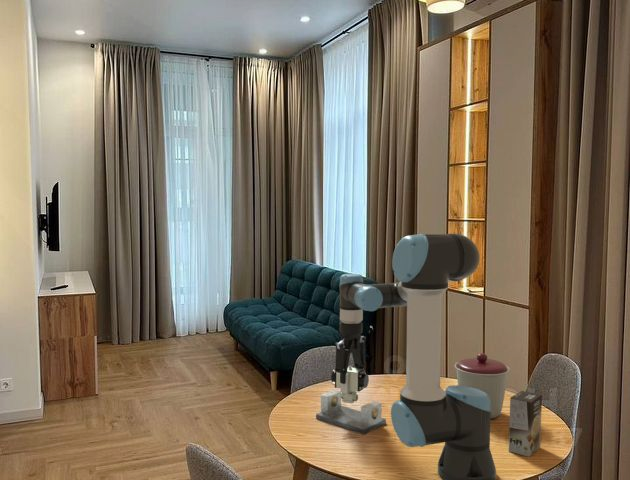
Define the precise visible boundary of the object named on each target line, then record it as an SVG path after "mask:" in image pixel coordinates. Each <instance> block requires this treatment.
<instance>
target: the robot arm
mask: <svg viewBox="0 0 630 480" xmlns="http://www.w3.org/2000/svg"><path fill="white" fill-rule="evenodd" d="M480 258H481V257H480V251H479V249H478V246H477V245H476V244H475V243H474V241H473V240H472V239H470V238H469V237H467V236H466V235H463V234H460V233H436V234H435V233H429V234H428V233H425V234H424V233H420V234H419V233H418V234H412V235H411V234H410V235H406V236H403V237H402V238H400V240H399V241H398V243H397V244H396V245H395V248H394V251H393V253H392V264H391V267H392V271H393V275H394V277H395V279H396V280H397V282H388V283H371V284H366V283H364V278H363V277H364V276H363V275H361V274H360V273H344V274H343V273H342V275H340V278H339V286H338V287H339V333H340V334H341V338H340V341H339V342H338V341H337V342H335V344H334V346H335V368H334V370H335V372H337V373H340V383H341V389H340V391H341V394H342V393H346V394H348V393H349V374H347V369H348V367H349V363H350V358H351V356H352V362H353V365H354V367H353V368H358V369H365V366H366V360H367V359H366V342H367V341H366V340H367V337H366V336H364V335H361V334H362V333H363V322H362V321H363V320H364V319H363V318H364V316H363V315H364V314H363V313H364V311H365V312H367V311H368V312H374V311H377V310H379V309H384V308H395V307H398V308H399V307H406V365H405V366H406V369H405V370H406V371H405V373H406V374H405V376H406V377H405V379H406V381H405V386H403V387H402V388H401V389H400V391H399V393H400V394H399V399H398V400H396V401H394V402H393V403H392V405H391V408H390V417H391V423H392V426H393V429H394V430H393V431H394V432H395V433H396V435H397V437H398V439H399V441H400V442H401V443H402V444H403V445H404V446H406V447H408V448H415V447H416V448H417V447H422V448H423V447H425V446H431V445H436V444H443V443H444V445H443V447H442V450H441V454H440V456H439V458H438V462H437V474H438V476H439V477H440V478H441V479H443V480H496V478H497V468H496V464H495V461H494V459H493V454H492V452H491V449H490V447H491V446H490V445H491V443H490V442H491V419H490V415H491V405H490V398H489V396H488V395H487V394H486V393H485V392H483V391H481V390H478V389H475V388H471V387H466V386H458V384H457V385H448V386H447V387H446V388H445V390H444V389H443V388H442V387H441V357H442V355H441V353H442V352H441V350H442V349H441V347H442V342H441V341H442V295H443V294H444V293H445V292H446V291H447V290H448V288H449V286H448V285H449V283H451V282H455V283H457V282H460V281H462V280H464V279H466V278H468V277H470V276H472V275H473V274H474V273H475V272H476V270H477V269H478V267H479V265H480V260H481V259H480Z"/></svg>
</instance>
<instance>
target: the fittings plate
mask: <svg viewBox="0 0 630 480" xmlns="http://www.w3.org/2000/svg"><path fill="white" fill-rule="evenodd" d="M341 394H342V392H341V390H337V389H332V390H329V391H328V392H326V393H321V395H320V412H317V413H316V414H315V418H316V420H319V421H323V422H326V423H329V424H332V425H335V426H337V427H341V428H344V429H346V430H350V431H352V432H355V433H358V434H362V435H365V434H367V433H369V432H371V431H373V430H375V429H377V428H380V427H383V426H384V425H385V424H386V423H387V419H386V418H384V417H382V406H383V405H382V402H379V401H375V400H373V401H371V402H368V403H366V404H363V405H361V406H360V410H357V409H355V408H351V407H348V406H344V405H342V398H341Z"/></svg>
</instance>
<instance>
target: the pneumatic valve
mask: <svg viewBox="0 0 630 480" xmlns="http://www.w3.org/2000/svg"><path fill="white" fill-rule="evenodd" d="M347 374H349V393H348V394H346V393H342V392H341V402H342V403H346V404H350V405H351V404H354V403H355V402H358V400H359V394H358V393H357V392H361V391H363V390H364V389H366V388H367V387H368V386H369V381H370V379H369V375H368V374H367V373H366V369H365V368H364V369H358V368H355V367H352V365H348V369H347ZM330 378H331V379H330V380H331V383H333V385H334V388H335V389H340V390H341V383H340V373H337V372H335V369H333V370H332V372H331V375H330Z"/></svg>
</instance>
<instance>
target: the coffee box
mask: <svg viewBox="0 0 630 480" xmlns="http://www.w3.org/2000/svg"><path fill="white" fill-rule="evenodd" d="M542 404H543V394H540V393H535V392H530V391H524V390H521V391H519V392H517V393H516V394H514V395H513V396H510V398H509V424H508V425H509V429H508V430H509V433H508V452H510V453H514V454H517V455H521V456H525V457H531V456H532V455H533V454H534V453H536V451H537V449H538V450H539V449H540V448H541V438H542V437H541V436H542V435H541V432H542Z"/></svg>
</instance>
